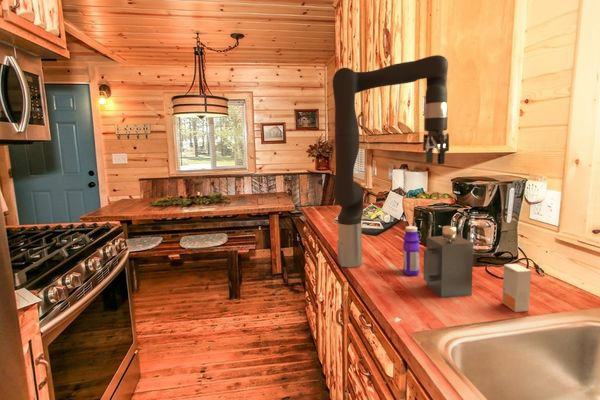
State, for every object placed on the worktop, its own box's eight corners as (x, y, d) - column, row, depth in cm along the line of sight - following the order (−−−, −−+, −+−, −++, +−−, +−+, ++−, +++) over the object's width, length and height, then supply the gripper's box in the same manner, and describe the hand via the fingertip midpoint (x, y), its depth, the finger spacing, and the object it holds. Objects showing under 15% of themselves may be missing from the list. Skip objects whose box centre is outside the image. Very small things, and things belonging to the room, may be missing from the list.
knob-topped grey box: (432, 298, 110) (432, 246, 108) (417, 286, 120) (418, 237, 118) (471, 295, 112) (473, 242, 109) (454, 282, 122) (455, 234, 119)
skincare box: (501, 303, 106) (503, 264, 104) (515, 302, 106) (517, 263, 104) (515, 312, 100) (517, 271, 98) (529, 311, 100) (532, 270, 98)
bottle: (420, 277, 128) (420, 229, 126) (403, 276, 130) (404, 229, 127) (418, 269, 135) (418, 224, 133) (402, 269, 137) (402, 224, 134)
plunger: (442, 291, 112) (444, 231, 109) (430, 281, 120) (431, 225, 117) (466, 289, 113) (468, 229, 110) (453, 279, 120) (454, 223, 117)
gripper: (416, 118, 132) (416, 162, 134) (435, 115, 118) (434, 165, 120) (436, 118, 133) (435, 162, 135) (457, 114, 119) (455, 164, 121)
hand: (434, 163), depth 128 cm, fingers open, 8 cm apart
